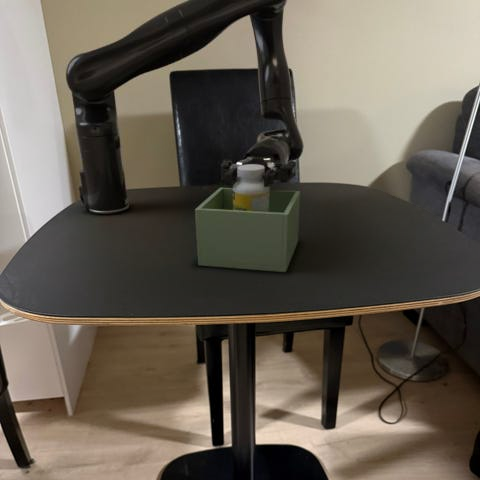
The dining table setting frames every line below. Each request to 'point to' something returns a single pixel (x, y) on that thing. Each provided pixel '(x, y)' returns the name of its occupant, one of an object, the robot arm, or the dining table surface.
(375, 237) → the dining table surface
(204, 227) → the storage bin
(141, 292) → the dining table surface
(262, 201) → the pill bottle
